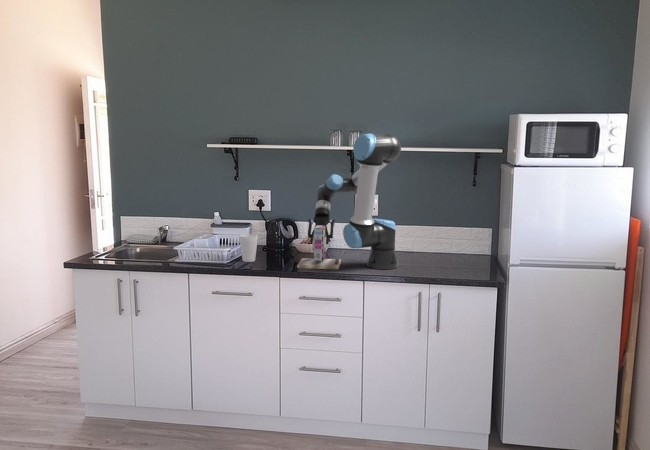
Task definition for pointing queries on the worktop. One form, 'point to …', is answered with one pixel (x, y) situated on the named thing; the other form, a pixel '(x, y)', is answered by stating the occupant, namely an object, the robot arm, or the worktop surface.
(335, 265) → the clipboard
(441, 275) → the worktop surface
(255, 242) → the foam cup
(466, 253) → the worktop surface
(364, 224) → the robot arm
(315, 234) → the candy bar box
